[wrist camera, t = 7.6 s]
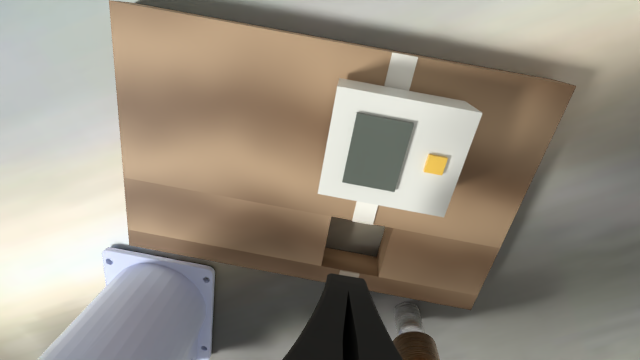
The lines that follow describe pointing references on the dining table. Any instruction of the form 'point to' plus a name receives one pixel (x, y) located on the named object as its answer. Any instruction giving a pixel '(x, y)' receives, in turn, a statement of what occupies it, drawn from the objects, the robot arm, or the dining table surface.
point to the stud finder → (396, 147)
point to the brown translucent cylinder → (412, 334)
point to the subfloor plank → (307, 152)
